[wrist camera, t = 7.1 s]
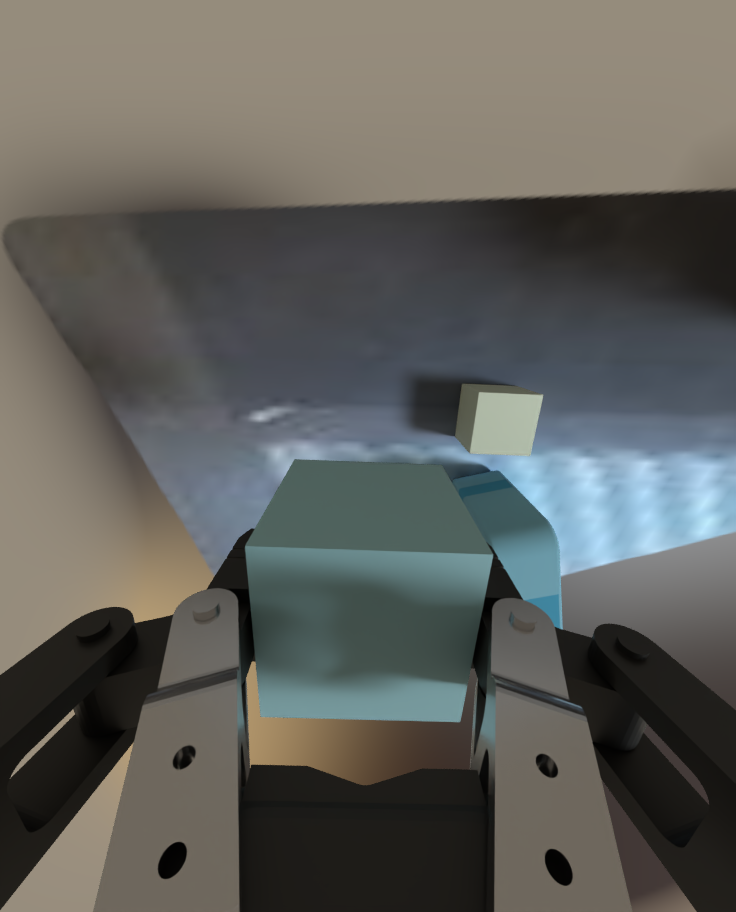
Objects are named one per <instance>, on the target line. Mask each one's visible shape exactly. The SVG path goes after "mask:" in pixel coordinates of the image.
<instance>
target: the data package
mask: <svg viewBox="0 0 736 912" xmlns="http://www.w3.org/2000/svg"><path fill="white" fill-rule="evenodd" d="M452 484H453V485H454V487H455V489H456V491H457V492H458V494H459V496H460V498H461V499H462V501H463V503H464V504H465V506H466V508H467V510H468V511H469V513H470V515H471V517H472V518H473V520H474V522H475V524H476V525H477V527H478V529H479V531H480V532H481V534H482V536H483V537H484V539H485V541H486V542H487V543H488V544H489V545H490V546H492V548H493V549H494V551H495V553H496V554H497V556H498V560H500V561H501V563H502V565H503V566H504V569H505V570H506V571H507V573H508V575H509V576H510V578H511V580H512V581H513V583H514V585H515V587H516V588H517V590H518V592H519V593H520V595H521V597H522V598H523V600H525V601H527V602H530V603H532V604H534V605H536V606H537V607H539V608H540V609H541V610H543V611H544V612H545V613H546V614H547V615H548V616H549V617H550V619H551V620H552V622H553V624H554V627H557V628H559V629H562V604H561V603H562V602H561V576H560V550H559V544H558V540H557V537H556V534H555V532H554V529H553V528H552V526H551V524H550V523H549V521H548V520H547V519H546V518H545V517H544V516H543V515H542V514H541V513H540V512H539V511H538V510H537V509H536V508H535V507H534V506H533V505H532V504H531V503H530V502H529V501H528V500H527V499H526V498H525V497H524V496H523V495H522V494H521V493H520V492H519V491H518V490H517V489H516V487H515V486H514V485H513V484H512V483H511V482H510V481H509V480H508V479H507V478H506V477H505V476H504V475H503V474H502V473H501V472H500V471H491V472H486V473H482V474H477V475H472V476H467V477H462V478H457V479H454V480H453V481H452ZM562 630H563V629H562Z"/></svg>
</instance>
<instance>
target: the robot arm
mask: <svg viewBox="0 0 736 912" xmlns="http://www.w3.org/2000/svg"><path fill="white" fill-rule="evenodd" d="M254 530H255V529H250V530H249V531H247V532H246V533H245V534H243V535H242V536H240V537H239V539H238V540H237V542H236V543H235V545H234V546H233V549H232V550H231V551H230V553H229V554H228V556H227V559H225V561H224V562H223V564H222V566H221V567H220V569H219V570H218V572H217V574H216V575H215V577H214V578H213V580H212V582H211V583H210V585H209V586H208V588H207V590H203V591H200V592H197V593H195V594H193V595H191V596H190V597H188V598H187V599H185V600H184V601H183V602H182V603H181V604H180V605H179V606H178V607H177V608H176V610H175V612H174V614H173V615H170V616H166V617H162V618H157V619H153V620H148V621H143V622H138V623H135V622H134V618H133V615H132V613H131V612H130V611H129V610H128V609H125V608H121V607H109V608H104V609H100V610H96V611H93V612H90V613H88V614H86V615H84V616H81V617H80V618H78V619H76V620H75V621H73V622H72V623H70V624H69V625H67V626H66V627H65V628H63V629H62V630H61V631H59V632H58V633H57V634H55V635H54V636H53V637H51V638H50V639H48V640H47V641H46V642H44V643H43V644H42V645H40V646H39V647H38V648H36V649H35V650H34V651H32V652H31V653H30V654H28V655H27V656H26V657H24V658H23V659H22V660H20V661H19V662H17V663H16V664H15V665H14V666H12V667H11V668H9V669H8V670H7V671H5V672H4V673H3V674H1V675H0V910H1V908H2V907H3V906H4V905H5V903H6V902H7V901H8V900H9V898H10V897H11V896H12V895H13V893H14V892H15V891H16V889H17V888H18V887H19V886H20V884H21V883H22V882H23V881H24V879H25V878H26V877H27V876H28V874H29V873H30V872H31V871H32V869H33V868H34V867H35V866H36V864H37V863H38V862H39V861H40V859H41V858H42V857H43V855H44V854H45V853H46V852H47V850H48V849H49V848H50V847H51V845H52V844H53V843H54V842H55V840H56V839H57V838H58V837H59V835H60V834H61V833H62V831H63V830H64V829H65V828H66V826H67V825H68V824H69V823H70V821H71V820H72V819H73V818H74V816H75V815H76V814H77V813H78V811H79V810H80V809H81V807H82V806H83V805H84V804H85V803H86V801H87V800H88V799H89V798H90V796H91V795H92V793H93V792H94V791H95V790H96V789H97V787H98V786H99V785H100V784H101V782H102V781H103V780H104V779H105V777H106V776H107V775H108V773H109V772H110V771H111V770H112V769H113V767H114V766H115V765H116V763H117V762H118V761H119V760H120V758H121V757H122V756H123V755H124V753H125V752H126V751H127V750H128V748H129V747H130V746H131V744H132V743H133V742H134V744H133V748H132V752H131V756H130V761H129V765H128V769H127V773H126V777H125V782H124V785H123V790H122V794H121V798H120V802H119V806H118V810H117V815H116V819H115V823H114V827H113V832H112V835H111V840H110V844H109V848H108V852H107V856H106V860H105V865H104V869H103V873H102V877H101V882H100V885H99V889H98V894H97V898H96V902H95V906H94V911H93V912H632V908H631V904H630V900H629V895H628V891H627V888H626V883H625V879H624V874H623V870H622V866H621V862H620V858H619V853H618V849H617V845H616V841H615V837H614V832H613V828H612V824H611V819H610V816H609V811H608V807H607V802H606V798H605V794H604V789H603V785H602V781H601V779H602V780H603V782H604V783H605V785H606V786H607V787H608V789H609V790H610V791H611V793H612V794H613V796H614V797H615V799H616V800H617V801H618V803H619V804H620V805H621V807H622V808H623V810H624V811H625V812H626V814H627V815H628V816H629V818H630V819H631V821H632V822H633V824H634V825H635V826H636V828H637V829H638V830H639V832H640V833H641V835H642V836H643V837H644V839H645V840H646V841H647V843H648V844H649V846H650V847H651V849H652V850H653V851H654V853H655V854H656V855H657V857H658V858H659V860H660V861H661V862H662V864H663V865H664V866H665V868H666V869H667V871H668V872H669V874H670V875H671V876H672V878H673V879H674V880H675V882H676V883H677V885H678V886H679V887H680V889H681V890H682V892H683V893H684V894H685V896H686V897H687V899H688V900H689V901H690V903H691V904H692V906H693V907H694V908H695V910H696V911H697V912H736V710H735V709H733V708H732V707H731V706H730V705H729V704H727V703H726V702H725V701H724V700H723V699H721V698H720V697H719V696H718V695H717V694H715V693H714V692H713V691H711V689H709V688H708V687H707V686H706V685H705V684H703V683H702V682H701V681H700V680H699V679H697V678H696V677H695V676H694V675H692V674H691V673H690V672H689V671H688V670H687V669H685V668H684V667H683V666H682V665H681V664H679V663H678V662H677V661H676V660H675V659H673V658H672V657H671V656H670V655H668V654H667V653H666V652H665V651H664V650H662V649H661V648H660V647H659V646H657V645H656V644H655V643H654V642H653V641H651V640H650V639H649V638H647V637H645V636H644V635H642V634H640V633H639V632H637V631H634V630H632V629H630V628H627V627H624V626H621V625H616V624H603V625H600V626H598V627H597V628H596V629H595V631H594V634H593V637H592V638H591V637H587V636H584V635H580V634H576V633H573V632H569V631H566V630H562V629H559V628H557V627H554V624H553V622H552V620H551V619H550V617H549V616H548V615H547V614H546V613H545V612H544V611H543V610H541V609H540V608H539V607H537V606H536V605H534V604H532V603H530V602H527V601H525V600H523V598H522V597H521V595H520V593H519V592H518V590H517V588H516V587H515V585H514V583H513V581H512V580H511V578H510V576H509V575H508V573H507V571H506V570H505V569H504V566H503V565H502V563H501V561H500V560H498V556H497V554H496V553H495V551H494V549H493V548H492V546H490V545H489V544H488V543H487V542H486V543H487V544H488V546H489V548H490V550H491V551H492V553H493V559H492V564H491V569H490V574H489V579H488V584H487V589H486V594H485V599H484V605H483V610H482V615H481V620H480V625H479V630H478V635H477V640H476V645H475V650H474V655H473V660H472V665H471V668H475V671H476V674H477V677H478V679H477V684H476V689H475V702H474V717H473V732H472V747H471V748H472V749H471V763H470V770H460V769H420V770H416V771H414V772H410V773H407V774H404V775H401V776H397V777H394V778H391V779H388V780H385V781H381V782H378V783H375V784H372V785H367V786H366V785H359V784H356V783H353V782H351V781H348V780H345V779H342V778H340V777H337V776H334V775H331V774H328V773H326V772H323V771H320V770H317V769H314V768H311V767H308V766H285V765H251V768H250V758H249V733H248V705H247V683H246V677H247V673H248V671H249V668H250V665H251V662H252V661H256V660H255V649H254V639H253V628H252V617H251V606H250V595H249V585H248V574H247V563H246V552H245V545H246V543H247V542H248V540H249V538H250V536H251V535H252V533H253V531H254ZM72 709H74V712H75V715H74V716H73V717H72V718H71V719H70V720H69V721H68V722H67V723H66V724H65V725H64V726H63V727H62V728H61V729H60V730H59V731H58V732H57V733H56V734H55V735H54V736H53V737H52V738H51V739H50V740H49V741H48V742H47V743H46V744H45V745H44V746H43V747H42V748H41V749H40V750H39V751H38V752H37V753H36V754H35V755H34V756H33V757H32V758H31V759H30V760H29V761H28V762H27V763H26V764H25V765H24V766H23V767H22V768H21V769H19V771H17V773H15V774H14V775H13V776H12V777H11V775H12V773H13V771H14V769H15V768H16V766H17V765H18V764H19V762H20V761H21V760H22V759H23V758H24V756H25V755H26V754H27V753H28V752H29V751H30V750H31V749H32V748H33V747H35V746H36V745H37V744H38V742H40V741H41V740H42V739H43V738H44V737H45V736H46V735H47V734H48V733H49V732H50V731H51V730H52V729H53V728H54V727H55V726H56V725H57V724H58V723H59V722H60V721H61V720H62V719H63V718H64V717H65V716H66V715H67V714H68V713H69V712H70V711H71V710H72ZM647 724H648V725H649V726H650V727H651V728H652V729H653V731H655V733H656V734H657V735H658V736H659V737H660V738H661V739H662V740H663V741H664V742H665V743H666V744H667V745H668V747H669V748H670V749H671V750H672V751H673V752H674V753H675V754H676V755H677V756H678V757H679V758H680V759H681V760H682V762H683V763H685V765H686V766H687V767H688V768H689V769H690V770H691V771H692V772H693V773H694V775H695V776H696V777H697V778H698V780H699V781H700V783H701V784H702V786H703V787H704V789H705V791H706V794H707V796H708V799H709V805H708V803H707V802H706V801H705V800H704V799H703V798H702V797H701V796H700V795H699V793H698V792H697V791H696V790H695V789H694V788H693V787H692V786H691V785H690V784H689V783H688V781H687V780H686V779H685V778H684V777H683V776H682V775H681V774H680V773H679V771H678V770H677V769H676V768H675V767H674V766H673V765H672V764H671V763H670V762H669V760H668V759H667V758H666V757H665V756H664V755H663V754H662V753H661V752H660V750H659V749H658V748H657V747H656V746H655V745H654V744H653V743H652V742H651V741H650V740H649V738H648V737H647V736H646V735H645V734H644V733H643V732H644V730H645V728H646V726H647ZM10 777H11V779H10Z"/></svg>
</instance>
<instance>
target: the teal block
mask: <svg viewBox="0 0 736 912" xmlns="http://www.w3.org/2000/svg"><path fill="white" fill-rule="evenodd" d="M245 552H246V563H247V574H248V585H249V595H250V606H251V617H252V628H253V639H254V649H255V660H256V670H257V681H258V693H259V704H260V714H261V717H283V718H323V719H325V718H326V719H364V720H404V721H443V722H460V720H461V715H462V710H463V705H464V700H465V695H466V690H467V685H468V680H469V674H470V670H471V665H472V660H473V655H474V650H475V645H476V640H477V635H478V630H479V625H480V620H481V615H482V610H483V605H484V599H485V594H486V589H487V584H488V579H489V574H490V569H491V564H492V559H493V553H492V551H491V550H490V548H489V546H488V544H487V543H486V541H485V539H484V537H483V536H482V534H481V532H480V531H479V529H478V527H477V525H476V524H475V522H474V520H473V518H472V517H471V515H470V513H469V511H468V510H467V508H466V506H465V504H464V503H463V501H462V499H461V498H460V496H459V494H458V492H457V491H456V489H455V487H454V485H453V484H452V482H451V480H450V478H449V477H448V475H447V473H446V471H445V470H444V468H443V466H442V465H425V464H400V463H374V462H349V461H323V460H297V459H295V460H294V462H293V463H292V465H291V467H290V469H289V470H288V472H287V474H286V476H285V477H284V479H283V481H282V483H281V484H280V486H279V488H278V489H277V491H276V493H275V495H274V496H273V498H272V500H271V502H270V503H269V505H268V507H267V509H266V510H265V512H264V514H263V516H262V517H261V519H260V521H259V523H258V524H257V526H256V528H255V530H254V531H253V533H252V535H251V536H250V538H249V540H248V542H247V543H246V545H245Z"/></svg>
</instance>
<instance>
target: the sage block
mask: <svg viewBox="0 0 736 912" xmlns="http://www.w3.org/2000/svg"><path fill="white" fill-rule="evenodd" d="M542 399H543V395H542V394H539V393H536V392H533V391H530V390H527V389H524V388H521V387H518V386H505V385H482V384H462V388H461V395H460V403H459V410H458V417H457V425H456V432H455V437H456V438H457V440H458V441H459V442H460V443H461V444H462V445H463V446H464V447H465V449H466V450H467V451H468V452H469V453H470V454H495V455H520V456H530V454H531V449H532V445H533V440H534V436H535V431H536V426H537V422H538V417H539V413H540V408H541V403H542Z"/></svg>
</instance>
